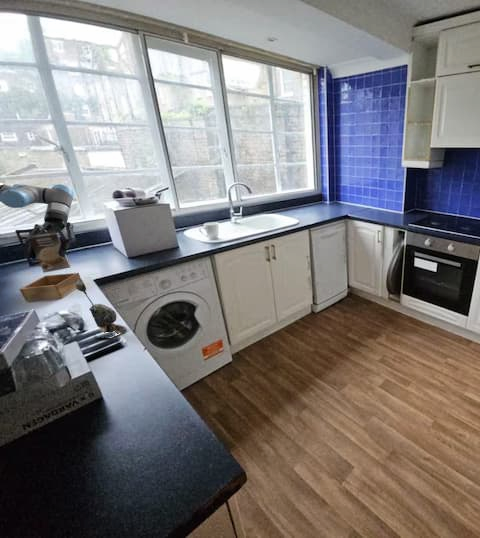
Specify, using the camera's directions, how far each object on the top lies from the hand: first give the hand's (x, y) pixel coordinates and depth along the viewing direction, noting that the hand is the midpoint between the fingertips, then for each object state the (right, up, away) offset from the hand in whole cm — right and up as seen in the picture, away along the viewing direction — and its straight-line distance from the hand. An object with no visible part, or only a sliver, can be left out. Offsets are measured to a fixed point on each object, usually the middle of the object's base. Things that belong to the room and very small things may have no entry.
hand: (46, 256), depth 130 cm
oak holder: (+9, -16, -4) cm, 18 cm away
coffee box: (0, -5, +5) cm, 7 cm away
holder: (-34, -2, +31) cm, 47 cm away
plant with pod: (+58, -27, -34) cm, 73 cm away
